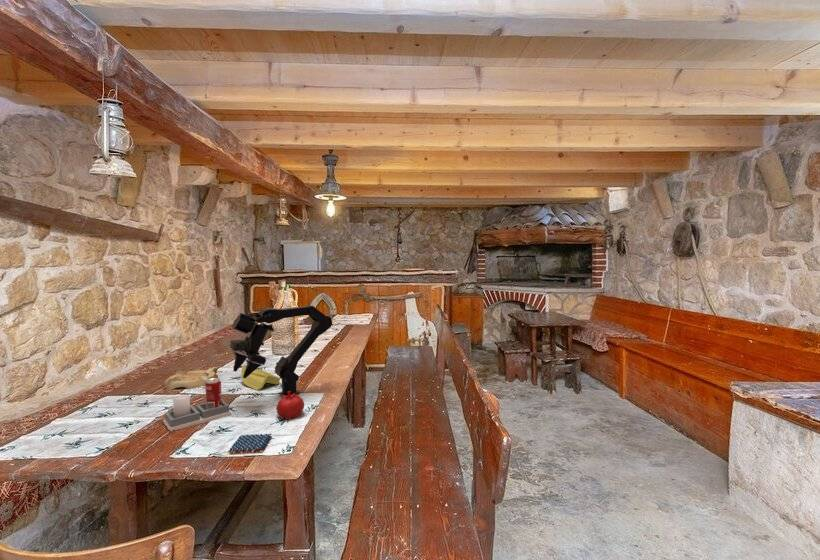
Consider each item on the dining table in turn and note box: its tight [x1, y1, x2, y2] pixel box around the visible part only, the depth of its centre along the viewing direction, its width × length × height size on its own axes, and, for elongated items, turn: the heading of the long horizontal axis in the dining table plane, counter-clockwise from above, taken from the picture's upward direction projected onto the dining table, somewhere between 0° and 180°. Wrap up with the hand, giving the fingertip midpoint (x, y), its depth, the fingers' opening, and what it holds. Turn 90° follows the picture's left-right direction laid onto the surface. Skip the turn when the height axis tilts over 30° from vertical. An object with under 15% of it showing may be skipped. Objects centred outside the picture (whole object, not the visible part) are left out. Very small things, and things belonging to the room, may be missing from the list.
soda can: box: [204, 377, 223, 410], centre depth 148 cm, size 5×5×12 cm
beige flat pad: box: [163, 367, 219, 390], centre depth 187 cm, size 24×24×5 cm
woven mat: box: [228, 433, 273, 455], centre depth 124 cm, size 10×11×2 cm
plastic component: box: [241, 365, 281, 391], centre depth 184 cm, size 20×7×10 cm
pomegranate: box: [276, 391, 305, 420], centre depth 147 cm, size 10×10×9 cm
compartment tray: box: [163, 394, 232, 432], centre depth 144 cm, size 20×10×9 cm, turn 133°
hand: (239, 374), depth 157 cm, fingers open, 9 cm apart
